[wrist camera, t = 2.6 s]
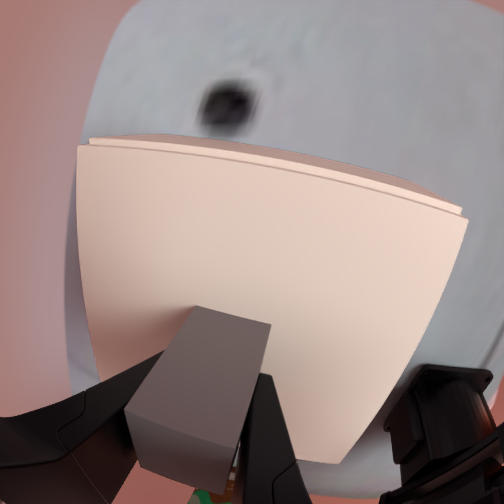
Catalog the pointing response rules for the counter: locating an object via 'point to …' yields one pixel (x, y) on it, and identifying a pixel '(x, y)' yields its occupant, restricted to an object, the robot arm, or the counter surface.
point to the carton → (282, 163)
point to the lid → (251, 298)
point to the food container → (203, 500)
